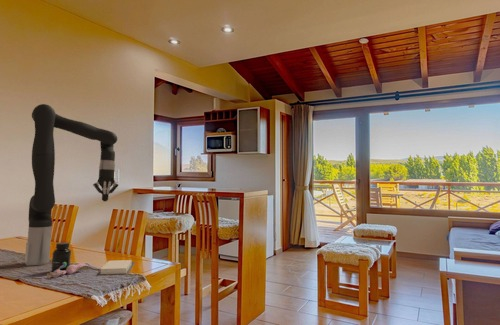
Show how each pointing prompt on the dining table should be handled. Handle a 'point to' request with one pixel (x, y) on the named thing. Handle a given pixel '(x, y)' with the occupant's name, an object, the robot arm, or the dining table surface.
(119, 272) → the tile
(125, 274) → the mat
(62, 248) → the supplement bottle
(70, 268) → the rabbit figure
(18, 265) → the dining table surface
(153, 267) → the dining table surface
